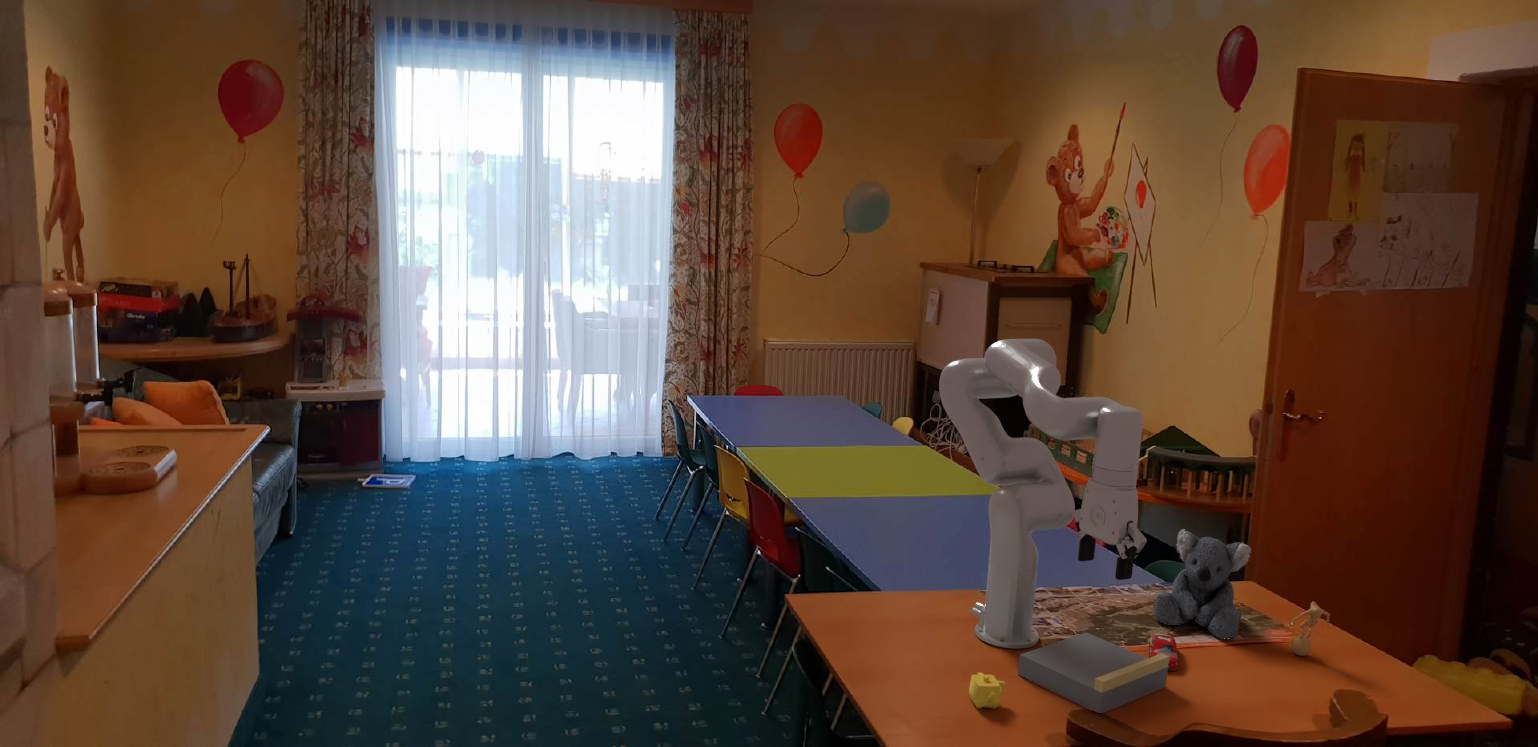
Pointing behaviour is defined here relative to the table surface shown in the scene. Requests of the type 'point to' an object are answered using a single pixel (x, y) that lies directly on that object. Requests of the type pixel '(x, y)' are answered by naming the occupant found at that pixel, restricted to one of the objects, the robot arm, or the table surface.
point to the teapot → (986, 690)
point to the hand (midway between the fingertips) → (1104, 569)
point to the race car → (1164, 649)
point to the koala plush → (1204, 585)
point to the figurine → (1302, 642)
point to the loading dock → (1094, 671)
